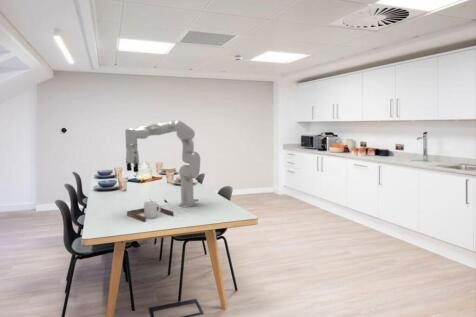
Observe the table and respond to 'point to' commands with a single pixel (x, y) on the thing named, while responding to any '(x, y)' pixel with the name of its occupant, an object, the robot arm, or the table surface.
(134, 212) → the open wooden rail frame
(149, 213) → the mug
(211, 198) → the table surface
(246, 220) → the table surface
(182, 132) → the robot arm
